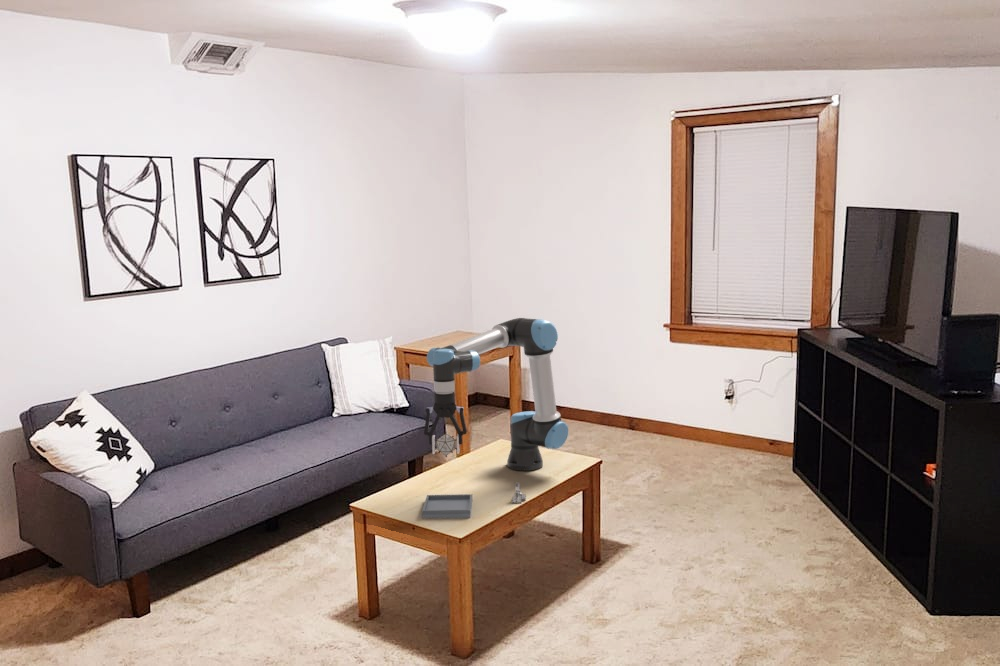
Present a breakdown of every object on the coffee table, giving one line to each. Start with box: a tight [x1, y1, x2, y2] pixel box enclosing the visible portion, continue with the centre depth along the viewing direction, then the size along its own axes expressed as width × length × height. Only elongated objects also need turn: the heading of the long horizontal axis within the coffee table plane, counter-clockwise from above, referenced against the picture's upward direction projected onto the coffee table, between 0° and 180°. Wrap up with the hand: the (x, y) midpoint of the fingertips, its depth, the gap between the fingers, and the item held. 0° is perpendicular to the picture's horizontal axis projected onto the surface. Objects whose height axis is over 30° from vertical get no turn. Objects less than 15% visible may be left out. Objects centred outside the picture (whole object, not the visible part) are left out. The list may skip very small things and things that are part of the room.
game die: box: [434, 431, 457, 458], centre depth 302 cm, size 9×8×10 cm
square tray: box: [421, 493, 474, 519], centre depth 305 cm, size 17×17×3 cm
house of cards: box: [511, 482, 527, 504], centre depth 311 cm, size 9×9×8 cm
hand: (446, 452), depth 302 cm, fingers closed on game die, 8 cm apart
